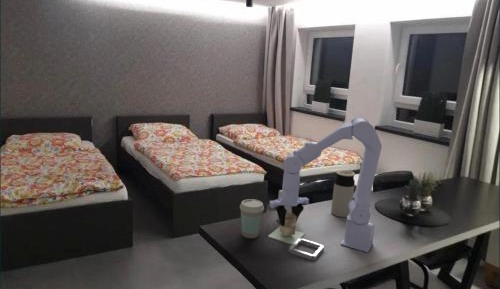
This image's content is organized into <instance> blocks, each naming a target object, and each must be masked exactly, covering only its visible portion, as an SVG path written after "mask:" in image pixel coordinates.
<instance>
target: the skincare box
mask: <svg viewBox="0 0 500 289" xmlns="http://www.w3.org/2000/svg"><path fill="white" fill-rule="evenodd" d="M280 198H282V189H279V190H278V197H277V199H280ZM284 207H285V209H286V210H287V212H292V208H291V206H284ZM276 220H277V221H278V222H279V217H278V213H277V212H276Z"/></svg>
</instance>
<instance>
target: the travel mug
mask: <svg viewBox="0 0 500 289" xmlns="http://www.w3.org/2000/svg"><path fill="white" fill-rule="evenodd" d="M355 175H356V173H355V172H354V171H351V170H348V169H338V170H336V177H334V182H333V183H334V184H333V193H332V201H331V208H330V209H331V210H330V212H331V214H333V215H334V216H336V217H339V218H347V216H348V215H349V213H350V211H349V208H348V203H349V201H350V200H351V199H352V197H353V194H354V192H355V191H354V190H355V184H356V181H355Z"/></svg>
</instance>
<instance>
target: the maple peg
mask: <svg viewBox="0 0 500 289" xmlns="http://www.w3.org/2000/svg"><path fill="white" fill-rule="evenodd" d="M296 219H297V216H296V215H295V214H293V213H292V212H286V216H285V223H284V226H281V225H280V224H279V227H280V232H281V233H282V234H283V235H284V236H289V235H295V231H296V226H297V222H296ZM297 220H298V219H297Z"/></svg>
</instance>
